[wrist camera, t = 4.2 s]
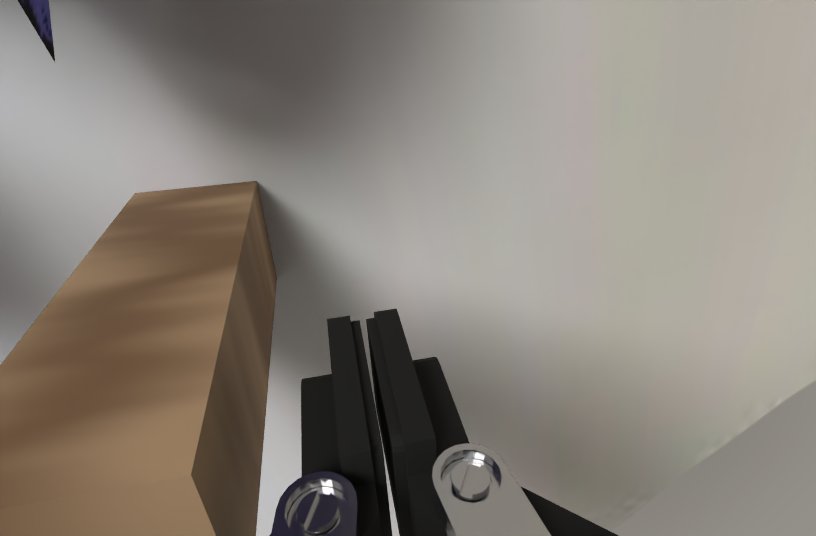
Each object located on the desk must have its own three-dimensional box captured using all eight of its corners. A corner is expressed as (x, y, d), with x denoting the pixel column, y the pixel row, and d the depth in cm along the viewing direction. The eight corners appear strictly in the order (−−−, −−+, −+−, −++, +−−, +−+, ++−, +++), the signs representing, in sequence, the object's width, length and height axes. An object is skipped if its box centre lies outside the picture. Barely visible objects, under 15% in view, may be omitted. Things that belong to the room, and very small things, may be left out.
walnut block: (256, 181, 17) (190, 474, 7) (276, 278, 19) (249, 615, 9) (134, 193, 17) (-130, 531, 6) (169, 292, 19) (9, 668, 8)
